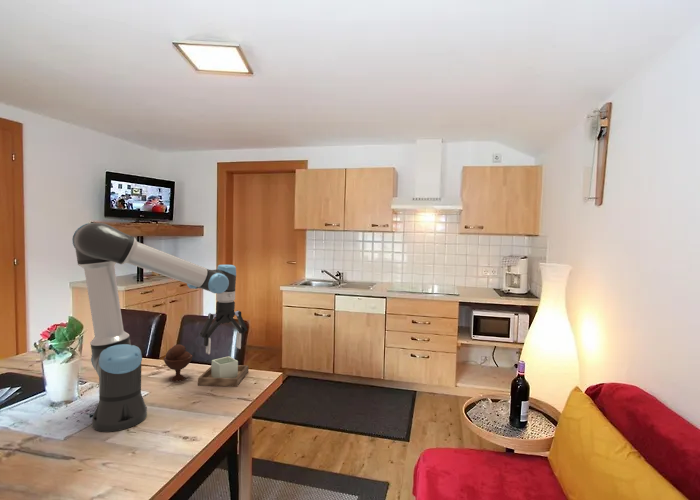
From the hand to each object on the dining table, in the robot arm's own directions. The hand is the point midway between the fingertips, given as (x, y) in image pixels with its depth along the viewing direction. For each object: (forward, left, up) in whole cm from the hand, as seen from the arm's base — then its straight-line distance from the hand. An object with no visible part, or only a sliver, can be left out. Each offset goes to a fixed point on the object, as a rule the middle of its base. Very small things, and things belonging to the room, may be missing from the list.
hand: (223, 350), depth 156 cm
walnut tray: (0, 0, -12) cm, 12 cm away
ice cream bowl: (-19, -2, -12) cm, 22 cm away
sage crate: (0, 0, -11) cm, 11 cm away
